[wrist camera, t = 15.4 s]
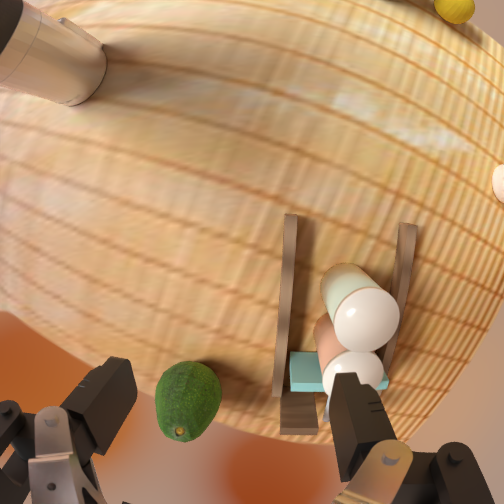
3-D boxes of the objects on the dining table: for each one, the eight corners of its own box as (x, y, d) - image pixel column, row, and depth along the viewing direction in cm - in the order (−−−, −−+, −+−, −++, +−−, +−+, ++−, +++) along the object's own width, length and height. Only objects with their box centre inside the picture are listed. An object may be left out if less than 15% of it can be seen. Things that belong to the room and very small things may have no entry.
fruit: (231, 395, 36) (215, 460, 25) (176, 393, 37) (148, 452, 25) (223, 347, 35) (201, 411, 23) (164, 347, 36) (125, 402, 24)
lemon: (434, -3, 22) (456, -28, 14) (462, 23, 22) (488, 2, 15) (419, 10, 23) (442, -18, 15) (449, 37, 24) (477, 14, 16)
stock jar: (315, 308, 33) (327, 353, 23) (362, 309, 32) (389, 351, 23) (310, 351, 34) (318, 403, 24) (355, 351, 33) (375, 399, 24)
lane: (284, 213, 31) (287, 221, 23) (408, 223, 30) (443, 233, 22) (271, 392, 36) (269, 434, 28) (373, 391, 35) (389, 429, 27)
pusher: (290, 351, 34) (292, 382, 28) (374, 352, 33) (389, 380, 27) (283, 401, 35) (284, 433, 29) (360, 400, 35) (370, 431, 28)
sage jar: (321, 260, 32) (339, 288, 22) (370, 263, 31) (405, 289, 22) (316, 310, 33) (330, 352, 23) (364, 310, 32) (391, 351, 23)
